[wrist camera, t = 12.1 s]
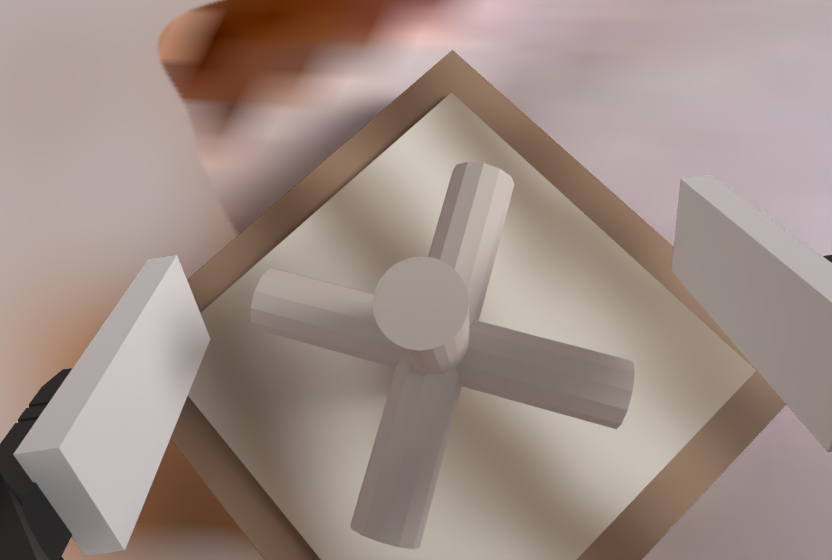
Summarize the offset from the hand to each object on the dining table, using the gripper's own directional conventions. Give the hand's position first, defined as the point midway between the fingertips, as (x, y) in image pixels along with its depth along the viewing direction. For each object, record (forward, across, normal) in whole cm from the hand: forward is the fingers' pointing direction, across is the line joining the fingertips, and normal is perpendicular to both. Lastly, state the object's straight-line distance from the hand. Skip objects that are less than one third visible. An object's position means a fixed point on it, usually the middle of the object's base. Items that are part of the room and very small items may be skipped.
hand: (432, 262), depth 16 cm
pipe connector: (+3, 0, -6) cm, 6 cm away
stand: (+6, 0, -9) cm, 10 cm away
